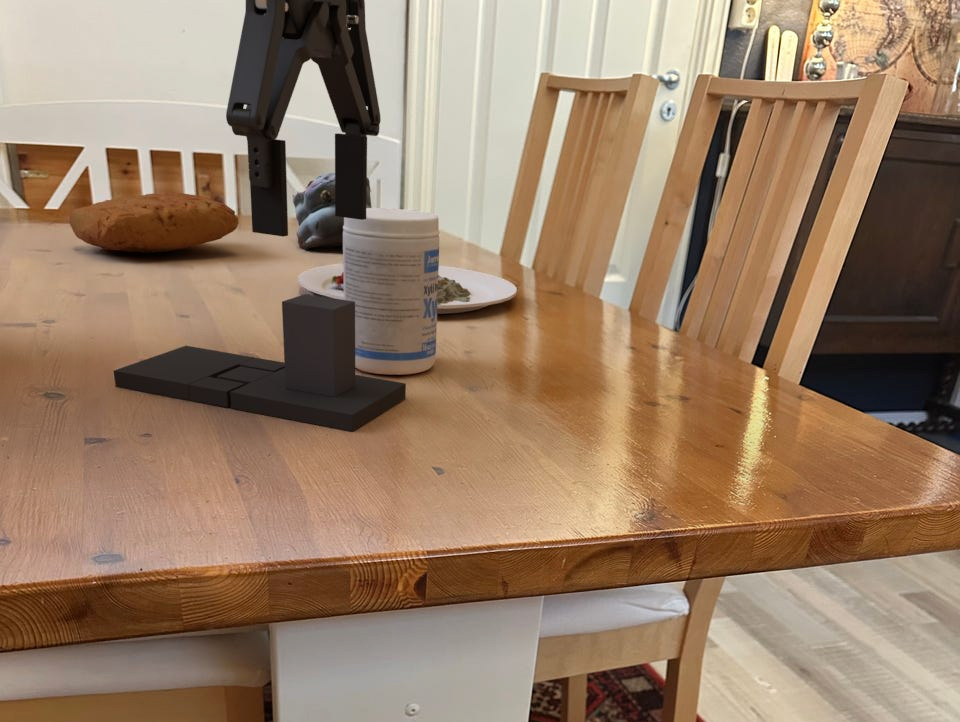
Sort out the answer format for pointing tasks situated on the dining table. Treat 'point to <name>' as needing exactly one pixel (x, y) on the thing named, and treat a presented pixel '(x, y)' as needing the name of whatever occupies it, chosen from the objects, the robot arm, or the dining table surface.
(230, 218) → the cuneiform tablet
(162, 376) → the base pad
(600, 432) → the dining table surface
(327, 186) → the blue creature figurine
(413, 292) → the supplement tub
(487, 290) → the plated food
